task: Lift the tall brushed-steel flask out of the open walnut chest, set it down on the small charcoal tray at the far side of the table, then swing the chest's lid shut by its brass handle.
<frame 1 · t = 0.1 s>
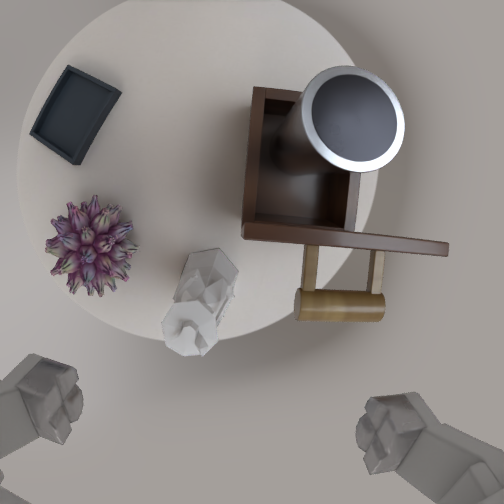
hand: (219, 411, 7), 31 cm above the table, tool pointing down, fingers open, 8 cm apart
tray: (75, 113, 33), on the table
lid: (318, 267, 22), point 16 cm above the table, hinge at 80.0°
flask: (295, 149, 34), point 1 cm above the table, touching chest
chest: (292, 166, 36), on the table
flower: (110, 237, 37), on the table
figurine: (208, 276, 39), on the table
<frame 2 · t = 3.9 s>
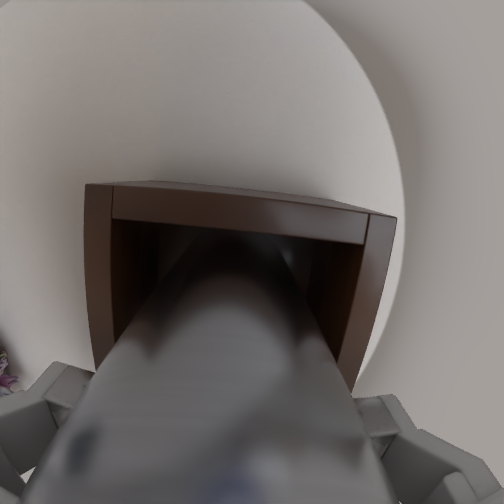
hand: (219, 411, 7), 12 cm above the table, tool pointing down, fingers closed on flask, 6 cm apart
flask: (232, 278, 18), point 1 cm above the table, touching chest, gripper
chest: (230, 301, 19), on the table
flower: (0, 359, 21), on the table
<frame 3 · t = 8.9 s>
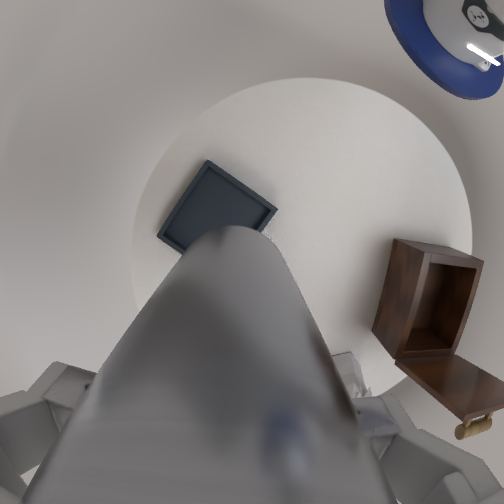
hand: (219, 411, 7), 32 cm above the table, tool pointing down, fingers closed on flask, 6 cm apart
tray: (216, 220, 38), on the table
lid: (454, 396, 27), point 16 cm above the table, hinge at 80.0°
flask: (232, 279, 18), point 21 cm above the table, touching gripper
chest: (414, 289, 41), on the table
figurine: (337, 371, 44), on the table
when the fingers open (11 cm above the table, at t = 14.0 s): flask stays where it is, resting on tray.
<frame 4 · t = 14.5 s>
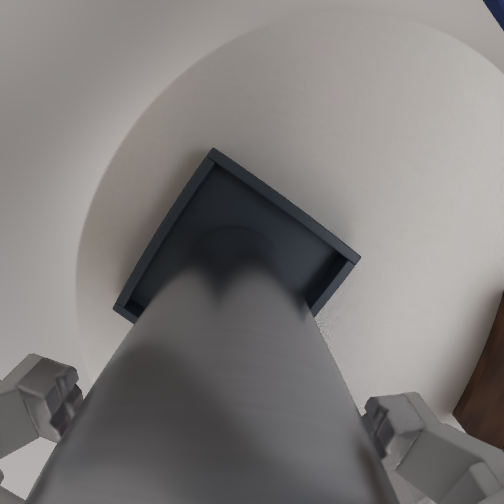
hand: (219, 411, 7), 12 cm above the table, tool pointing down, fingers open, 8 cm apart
tray: (232, 275, 19), on the table
flask: (233, 279, 18), resting on tray
figurine: (398, 463, 25), on the table
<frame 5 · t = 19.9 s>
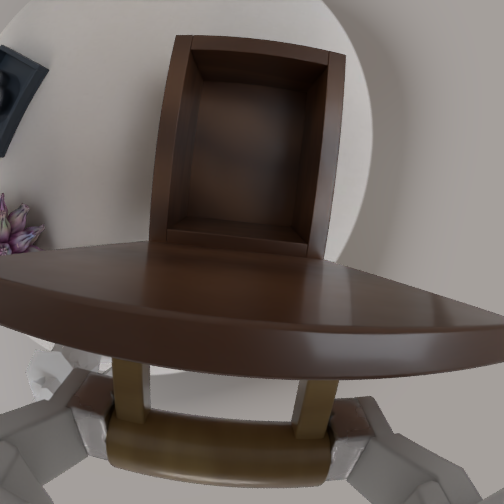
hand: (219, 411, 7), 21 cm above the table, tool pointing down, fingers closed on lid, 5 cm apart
tray: (4, 98, 22), on the table
lid: (228, 326, 11), point 16 cm above the table, hinge at 80.0°, touching gripper
flask: (2, 98, 22), resting on tray
chest: (246, 152, 25), on the table
flower: (31, 242, 27), on the table
figurine: (136, 297, 29), on the table
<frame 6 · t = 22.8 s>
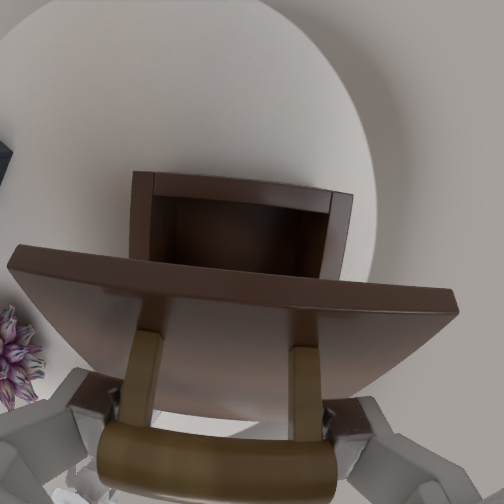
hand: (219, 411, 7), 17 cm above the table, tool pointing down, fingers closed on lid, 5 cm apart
lid: (219, 431, 10), point 15 cm above the table, hinge at 35.2°, touching gripper
chest: (233, 269, 24), on the table
flower: (24, 332, 26), on the table
figurine: (132, 391, 27), on the table
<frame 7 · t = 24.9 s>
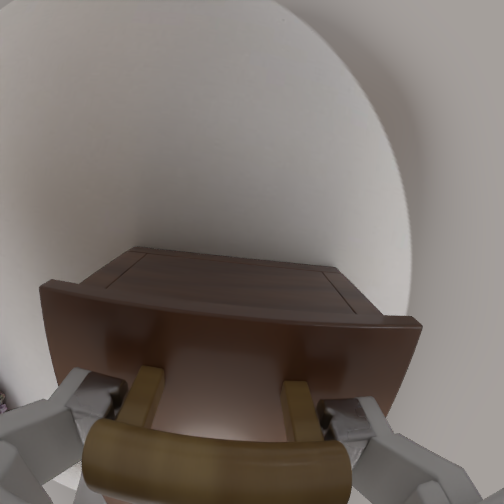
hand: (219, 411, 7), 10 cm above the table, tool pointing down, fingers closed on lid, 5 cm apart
chest: (224, 367, 18), on the table
figurine: (118, 466, 21), on the table
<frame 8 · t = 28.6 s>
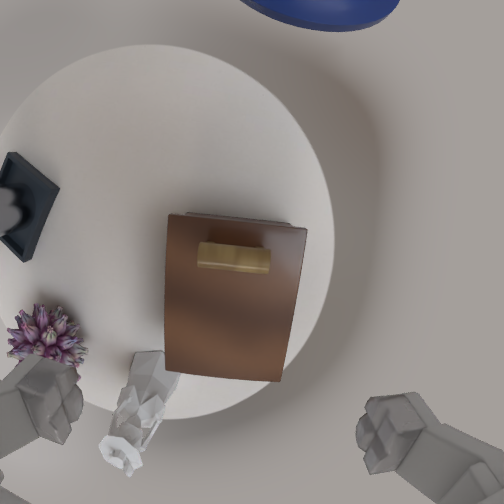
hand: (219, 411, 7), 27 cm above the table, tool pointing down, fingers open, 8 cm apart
tray: (21, 205, 32), on the table
lid: (228, 317, 24), point 11 cm above the table, hinge at -0.2°, touching chest
flask: (19, 206, 31), resting on tray
flower: (66, 328, 36), on the table
figurine: (154, 371, 38), on the table
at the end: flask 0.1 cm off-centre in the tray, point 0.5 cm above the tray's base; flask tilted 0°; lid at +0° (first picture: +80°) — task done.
